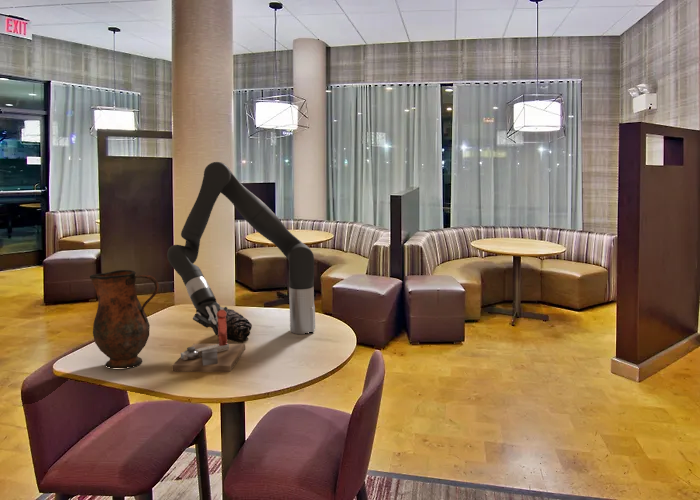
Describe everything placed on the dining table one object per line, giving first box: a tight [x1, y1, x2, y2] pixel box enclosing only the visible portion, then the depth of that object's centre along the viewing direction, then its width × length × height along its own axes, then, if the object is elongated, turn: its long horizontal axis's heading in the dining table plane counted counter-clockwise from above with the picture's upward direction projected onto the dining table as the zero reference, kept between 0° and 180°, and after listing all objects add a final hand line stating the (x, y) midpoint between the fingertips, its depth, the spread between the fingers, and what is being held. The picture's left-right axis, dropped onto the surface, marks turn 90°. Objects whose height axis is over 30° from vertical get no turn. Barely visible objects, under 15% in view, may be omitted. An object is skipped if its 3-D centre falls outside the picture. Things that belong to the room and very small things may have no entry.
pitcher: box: [89, 269, 160, 369], centre depth 170 cm, size 17×21×30 cm
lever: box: [180, 310, 230, 360], centre depth 173 cm, size 16×4×14 cm, turn 129°
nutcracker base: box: [171, 343, 247, 373], centre depth 175 cm, size 18×20×6 cm
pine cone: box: [226, 308, 253, 344], centre depth 198 cm, size 10×18×10 cm, turn 52°
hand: (221, 335), depth 179 cm, fingers closed
